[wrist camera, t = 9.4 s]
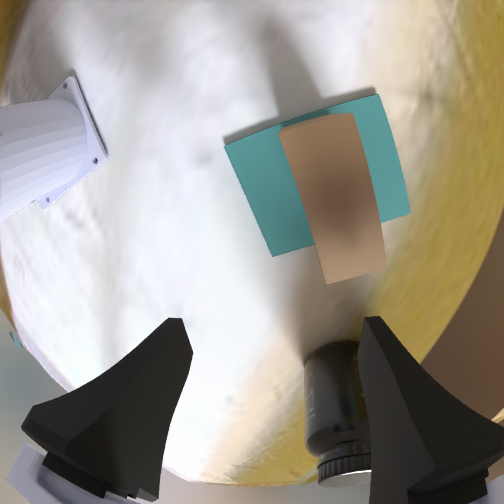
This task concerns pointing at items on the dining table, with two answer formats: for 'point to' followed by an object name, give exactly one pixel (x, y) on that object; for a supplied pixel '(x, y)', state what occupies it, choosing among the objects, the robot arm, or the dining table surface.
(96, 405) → the robot arm
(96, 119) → the dining table surface
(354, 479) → the supplement bottle
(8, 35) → the dining table surface
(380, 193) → the teal mat
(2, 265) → the dining table surface
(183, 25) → the dining table surface
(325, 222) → the brown block
